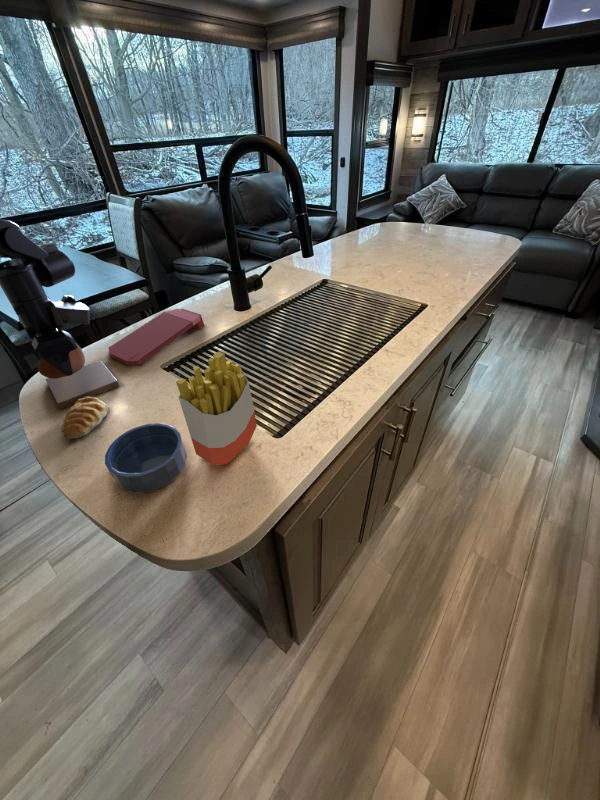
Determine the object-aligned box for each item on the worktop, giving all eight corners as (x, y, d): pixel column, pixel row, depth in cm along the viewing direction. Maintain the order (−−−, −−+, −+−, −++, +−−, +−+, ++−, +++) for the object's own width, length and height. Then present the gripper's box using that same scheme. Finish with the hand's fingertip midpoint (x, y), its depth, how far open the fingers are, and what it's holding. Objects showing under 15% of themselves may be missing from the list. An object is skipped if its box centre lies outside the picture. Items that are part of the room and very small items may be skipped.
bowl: (130, 508, 51) (119, 490, 48) (105, 464, 58) (95, 446, 55) (199, 467, 57) (194, 449, 54) (169, 431, 64) (163, 414, 61)
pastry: (92, 440, 62) (84, 425, 60) (55, 442, 62) (45, 427, 59) (111, 408, 69) (104, 393, 67) (78, 410, 69) (70, 395, 67)
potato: (98, 368, 73) (86, 342, 69) (55, 389, 67) (39, 362, 63) (80, 359, 76) (67, 334, 72) (37, 379, 70) (21, 352, 66)
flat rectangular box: (61, 409, 69) (57, 403, 68) (48, 384, 76) (45, 379, 76) (119, 386, 76) (117, 380, 75) (103, 365, 83) (100, 360, 82)
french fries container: (259, 437, 62) (248, 354, 51) (217, 475, 55) (194, 389, 44) (241, 427, 64) (227, 345, 53) (198, 463, 57) (172, 378, 46)
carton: (141, 378, 84) (209, 327, 98) (132, 363, 80) (204, 312, 94) (113, 364, 89) (181, 318, 103) (103, 350, 86) (175, 303, 99)
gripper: (89, 298, 59) (119, 371, 69) (63, 274, 70) (93, 340, 80) (15, 316, 54) (59, 393, 63) (0, 287, 65) (40, 356, 74)
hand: (65, 367), depth 70 cm, fingers closed on potato, 7 cm apart
